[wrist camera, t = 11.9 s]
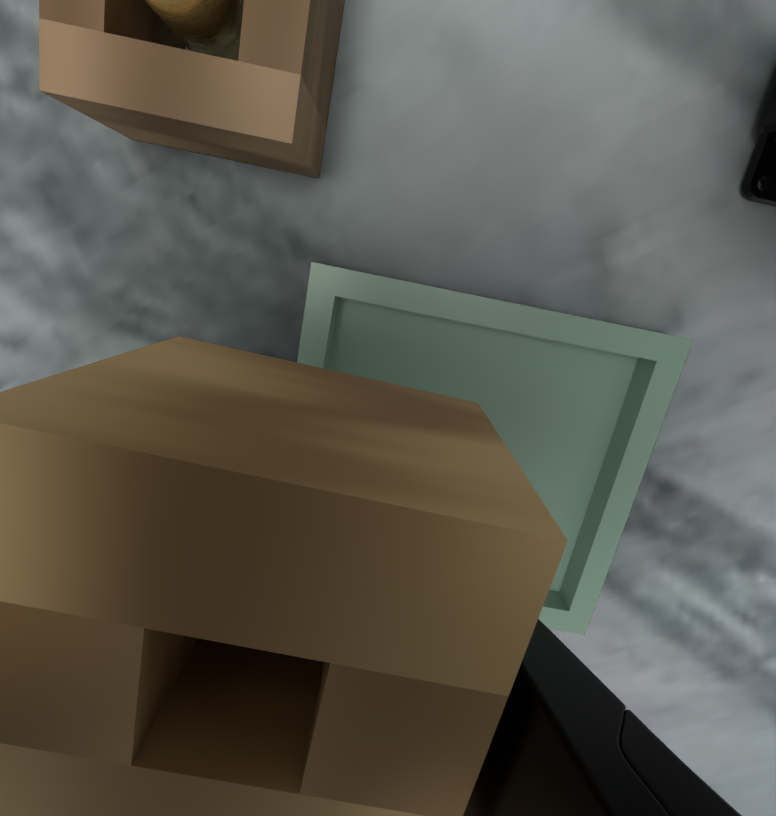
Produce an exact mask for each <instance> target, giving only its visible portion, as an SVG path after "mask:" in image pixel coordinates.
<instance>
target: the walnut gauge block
mask: <svg viewBox="0 0 776 816" xmlns="http://www.w3.org/2000/svg"><path fill="white" fill-rule="evenodd" d="M343 7H344V0H244V5H243V16H242V26H241V36H240V47H239V57H238V61H235V60H231V59H226V58H221V57H217V56H212V55H207V54H203V53H198V52H194V51H189V50H184V48H185V44H184V43H183V42H182V41H181V40H180V39H179V38H178V37H177V36H176V34H175V33H174V32H173V31H172V30H171V29H170V28H169V27H168V26H167V24H166V23H165V22H164V21H163V20H162V19H161V18H160V17H159V16H158V14H157V13H156V12H155V11H154V10H153V9H152V8H151V7H150V6H149V4H148V3H147V2H146V1H145V0H39V90H40V91H42V92H43V93H45V94H47V95H49V96H51V97H53V98H55V99H57V100H58V101H60V102H62V103H64V104H66V105H68V106H70V107H72V108H74V109H75V110H77V111H79V112H81V113H83V114H85V115H87V116H89V117H91V118H92V119H94V120H96V121H98V122H100V123H102V124H104V125H106V126H108V127H109V128H111V129H113V130H115V131H117V132H119V133H121V134H123V135H124V136H126V137H128V138H130V139H133V140H138V141H142V142H147V143H152V144H157V145H161V146H166V147H171V148H176V149H181V150H185V151H190V152H195V153H200V154H204V155H209V156H214V157H219V158H224V159H228V160H233V161H238V162H243V163H247V164H252V165H257V166H262V167H267V168H271V169H276V170H281V171H286V172H290V173H295V174H300V175H305V176H310V177H314V178H319V174H320V167H321V160H322V153H323V147H324V140H325V133H326V126H327V119H328V112H329V105H330V98H331V91H332V84H333V77H334V70H335V63H336V56H337V49H338V42H339V35H340V28H341V21H342V14H343Z"/></svg>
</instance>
